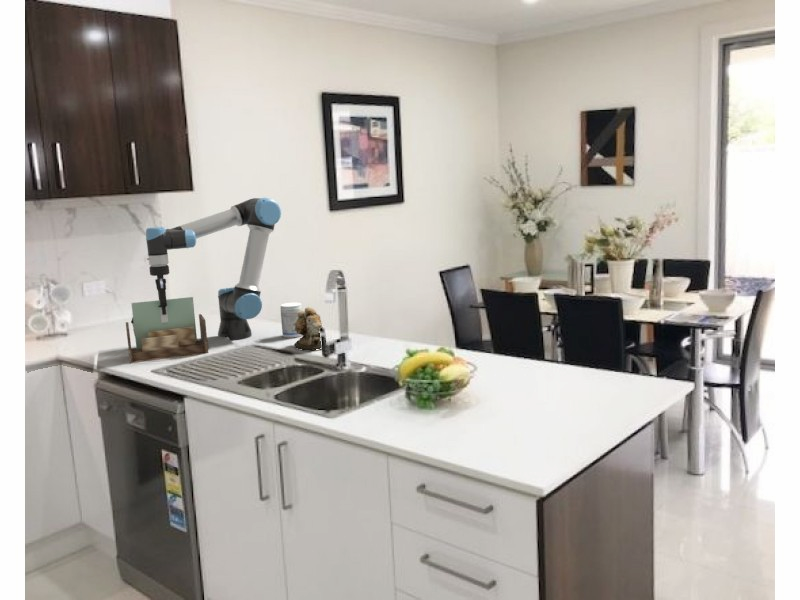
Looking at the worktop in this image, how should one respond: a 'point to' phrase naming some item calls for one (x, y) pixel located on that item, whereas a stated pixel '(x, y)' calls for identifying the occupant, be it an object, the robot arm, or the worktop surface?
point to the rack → (180, 351)
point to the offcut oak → (183, 334)
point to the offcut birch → (159, 343)
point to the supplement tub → (290, 319)
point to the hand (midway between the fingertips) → (164, 321)
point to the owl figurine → (308, 329)
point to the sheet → (150, 317)
